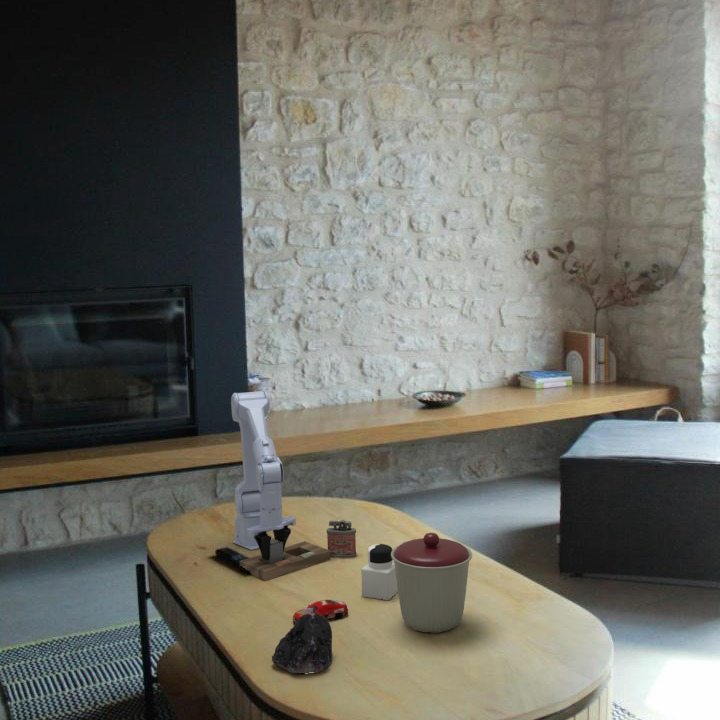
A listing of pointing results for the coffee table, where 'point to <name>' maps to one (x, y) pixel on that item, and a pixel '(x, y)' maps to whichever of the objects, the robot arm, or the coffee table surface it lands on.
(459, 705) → the coffee table surface
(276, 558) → the plug
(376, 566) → the medicine bottle
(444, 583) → the canister
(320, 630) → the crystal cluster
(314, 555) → the socket board
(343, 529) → the lighter
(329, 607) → the race car
